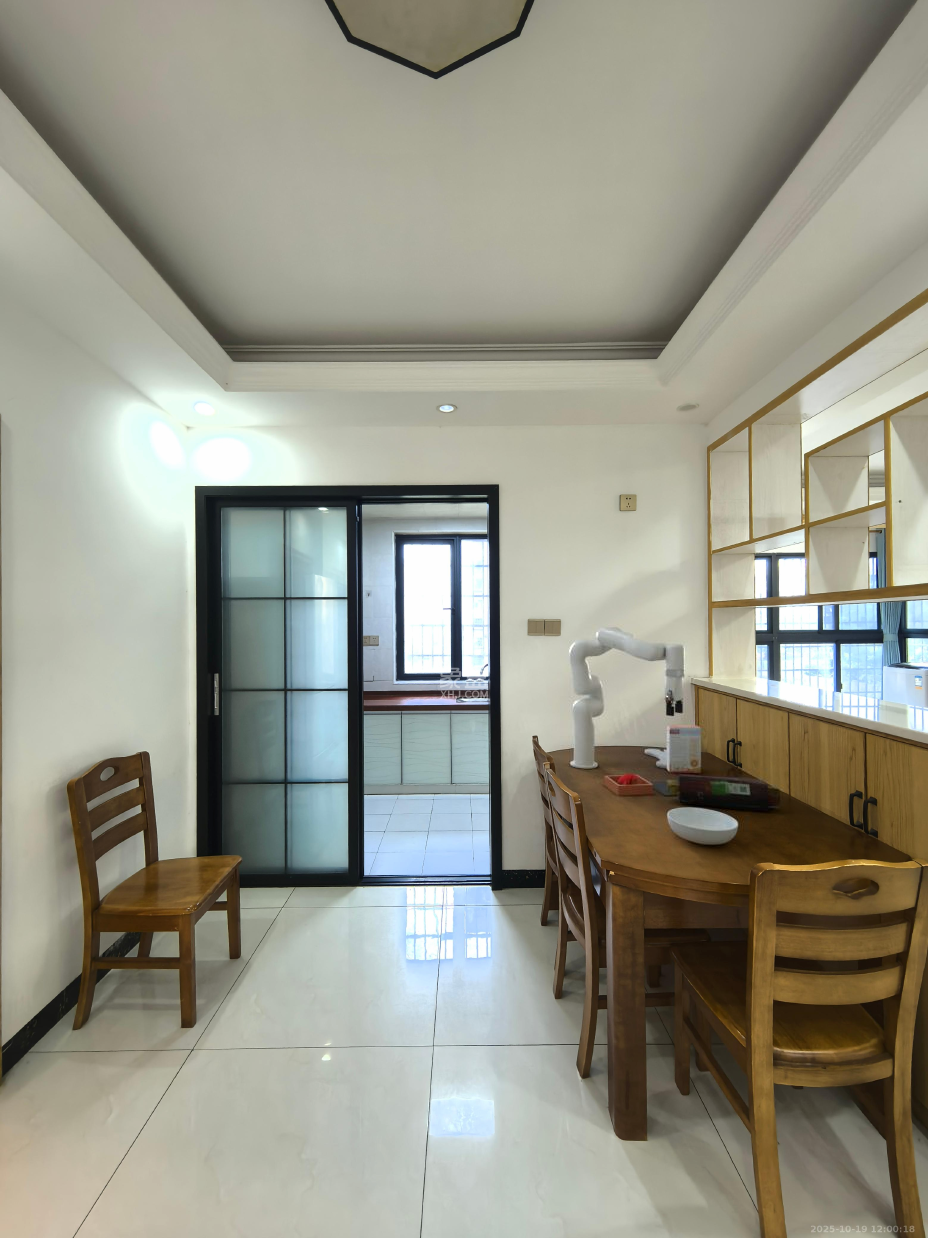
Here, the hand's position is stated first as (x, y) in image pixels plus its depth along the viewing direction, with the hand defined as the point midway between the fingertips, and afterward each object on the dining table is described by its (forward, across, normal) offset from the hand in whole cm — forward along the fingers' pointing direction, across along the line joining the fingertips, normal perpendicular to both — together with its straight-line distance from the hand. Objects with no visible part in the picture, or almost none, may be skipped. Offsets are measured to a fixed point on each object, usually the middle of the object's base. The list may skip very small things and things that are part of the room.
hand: (674, 714), depth 247 cm
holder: (+30, -41, -17) cm, 54 cm away
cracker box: (+30, -25, -5) cm, 39 cm away
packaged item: (+30, +14, +23) cm, 41 cm away
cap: (+30, +19, -12) cm, 37 cm away
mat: (+30, +6, +1) cm, 30 cm away
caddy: (+30, +19, -12) cm, 37 cm away
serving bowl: (+30, +54, +29) cm, 69 cm away
